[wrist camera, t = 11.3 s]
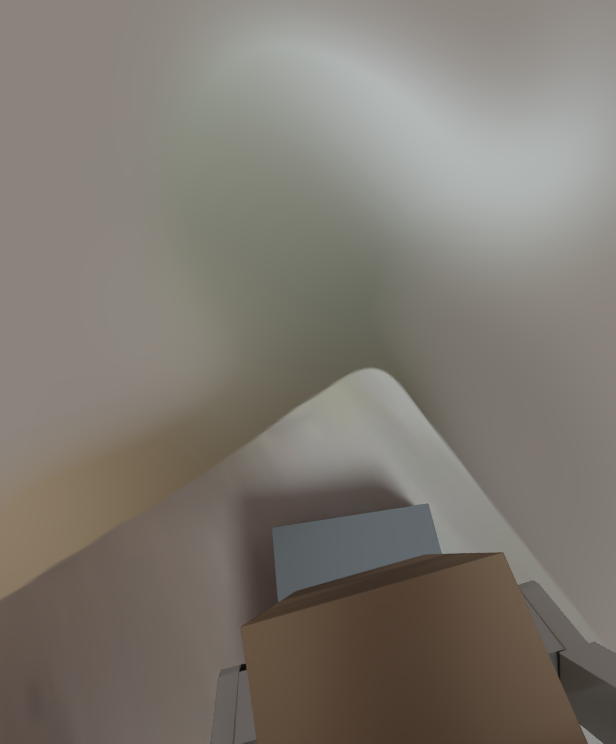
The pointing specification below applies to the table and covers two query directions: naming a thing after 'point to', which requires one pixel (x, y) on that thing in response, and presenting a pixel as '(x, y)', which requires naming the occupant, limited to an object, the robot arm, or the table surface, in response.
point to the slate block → (349, 545)
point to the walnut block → (407, 660)
